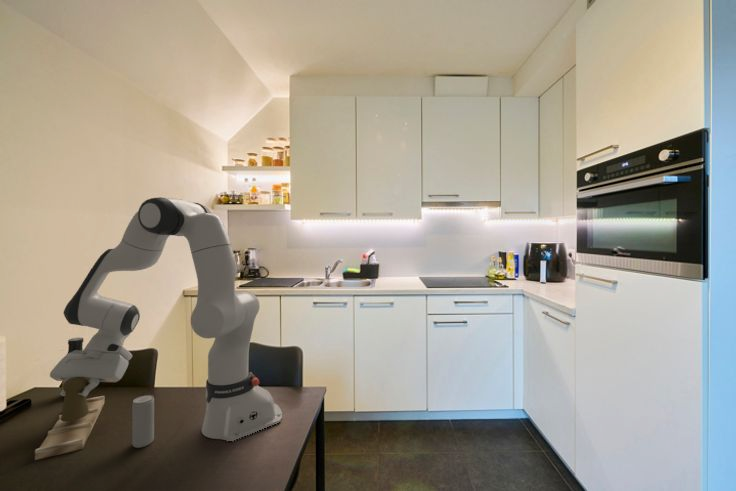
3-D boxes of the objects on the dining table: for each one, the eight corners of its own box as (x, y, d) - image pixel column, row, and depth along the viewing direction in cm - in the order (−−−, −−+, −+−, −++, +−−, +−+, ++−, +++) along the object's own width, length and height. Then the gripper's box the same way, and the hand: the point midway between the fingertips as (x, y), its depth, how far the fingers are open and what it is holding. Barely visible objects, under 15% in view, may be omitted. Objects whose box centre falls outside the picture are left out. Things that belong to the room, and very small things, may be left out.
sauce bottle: (57, 398, 112) (56, 340, 111) (76, 389, 118) (76, 335, 118) (72, 399, 111) (72, 341, 110) (91, 391, 117) (91, 336, 117)
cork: (72, 422, 91) (72, 383, 91) (55, 420, 92) (54, 381, 92) (94, 411, 97) (94, 375, 96) (77, 409, 98) (77, 373, 98)
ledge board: (104, 402, 108) (104, 395, 108) (82, 448, 84) (82, 439, 84) (68, 409, 104) (69, 402, 104) (35, 460, 80) (35, 450, 80)
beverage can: (134, 440, 88) (135, 396, 88) (155, 436, 90) (155, 393, 90) (129, 450, 84) (130, 404, 84) (151, 446, 86) (152, 401, 85)
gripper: (63, 345, 101) (29, 390, 91) (127, 346, 101) (100, 392, 91) (76, 354, 106) (46, 398, 96) (137, 355, 105) (113, 400, 95)
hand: (72, 395), depth 93 cm, fingers closed on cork, 4 cm apart
